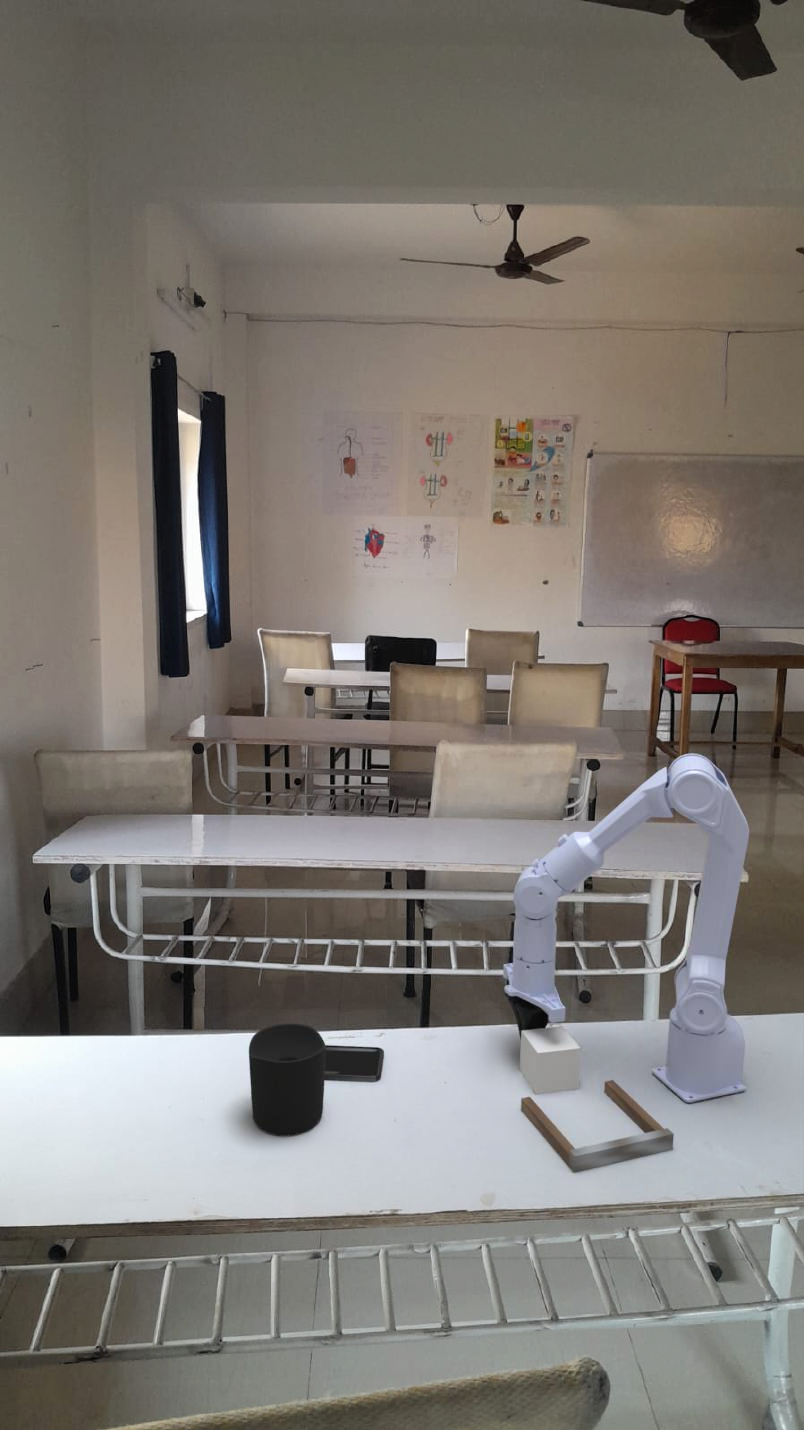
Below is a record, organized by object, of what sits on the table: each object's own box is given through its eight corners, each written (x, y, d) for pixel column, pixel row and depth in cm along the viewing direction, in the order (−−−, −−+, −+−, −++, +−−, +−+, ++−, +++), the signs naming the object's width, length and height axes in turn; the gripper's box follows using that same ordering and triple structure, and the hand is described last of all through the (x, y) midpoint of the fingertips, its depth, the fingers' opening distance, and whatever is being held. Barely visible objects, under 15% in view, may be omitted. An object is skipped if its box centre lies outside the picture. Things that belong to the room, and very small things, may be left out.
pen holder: (339, 1106, 123) (339, 1033, 121) (301, 1147, 114) (300, 1069, 112) (275, 1088, 126) (275, 1017, 125) (234, 1126, 118) (233, 1051, 116)
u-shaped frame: (612, 1090, 127) (613, 1076, 127) (672, 1149, 115) (673, 1133, 115) (520, 1109, 123) (521, 1094, 122) (573, 1172, 110) (574, 1156, 110)
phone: (278, 1043, 136) (384, 1047, 136) (278, 1050, 137) (384, 1054, 136) (268, 1073, 129) (380, 1077, 128) (268, 1080, 129) (380, 1085, 128)
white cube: (578, 1090, 127) (580, 1048, 126) (535, 1095, 126) (537, 1053, 125) (560, 1066, 133) (562, 1025, 132) (519, 1071, 132) (521, 1030, 131)
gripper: (485, 937, 137) (482, 1026, 140) (532, 981, 124) (528, 1078, 126) (529, 931, 140) (526, 1019, 142) (581, 973, 126) (576, 1069, 128)
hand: (530, 1046), depth 134 cm, fingers closed
